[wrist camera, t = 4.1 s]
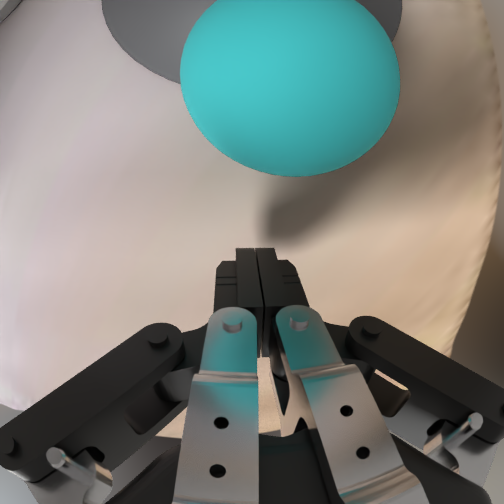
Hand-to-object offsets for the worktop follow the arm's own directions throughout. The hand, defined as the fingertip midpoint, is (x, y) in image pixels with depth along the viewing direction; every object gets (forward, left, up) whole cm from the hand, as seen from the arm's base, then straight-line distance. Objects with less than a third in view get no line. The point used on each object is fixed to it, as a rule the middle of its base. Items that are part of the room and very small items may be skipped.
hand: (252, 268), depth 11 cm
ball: (+1, +7, +2) cm, 7 cm away
